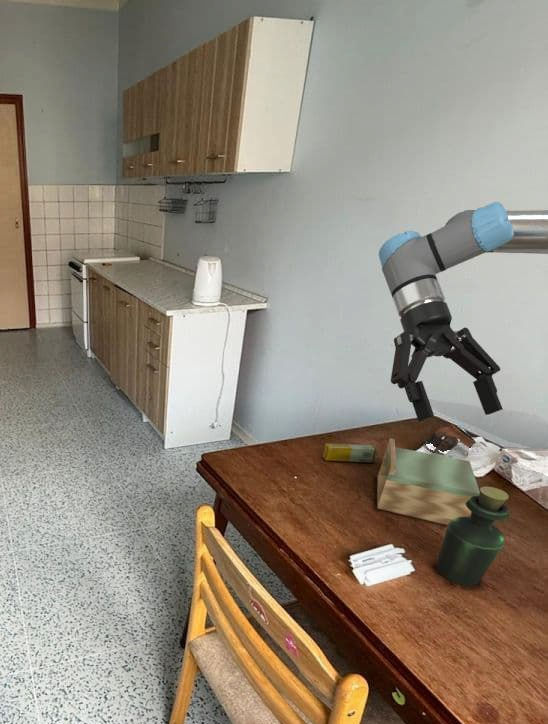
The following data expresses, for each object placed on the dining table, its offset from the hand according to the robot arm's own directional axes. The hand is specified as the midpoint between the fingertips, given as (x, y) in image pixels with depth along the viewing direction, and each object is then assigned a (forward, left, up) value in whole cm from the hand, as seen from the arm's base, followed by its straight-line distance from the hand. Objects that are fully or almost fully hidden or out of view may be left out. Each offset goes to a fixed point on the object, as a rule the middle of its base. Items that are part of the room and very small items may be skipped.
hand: (460, 415), depth 83 cm
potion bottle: (-6, +8, -28) cm, 30 cm away
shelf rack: (-1, -15, -27) cm, 31 cm away
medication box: (+14, -28, -28) cm, 41 cm away
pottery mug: (-9, -44, -28) cm, 52 cm away
